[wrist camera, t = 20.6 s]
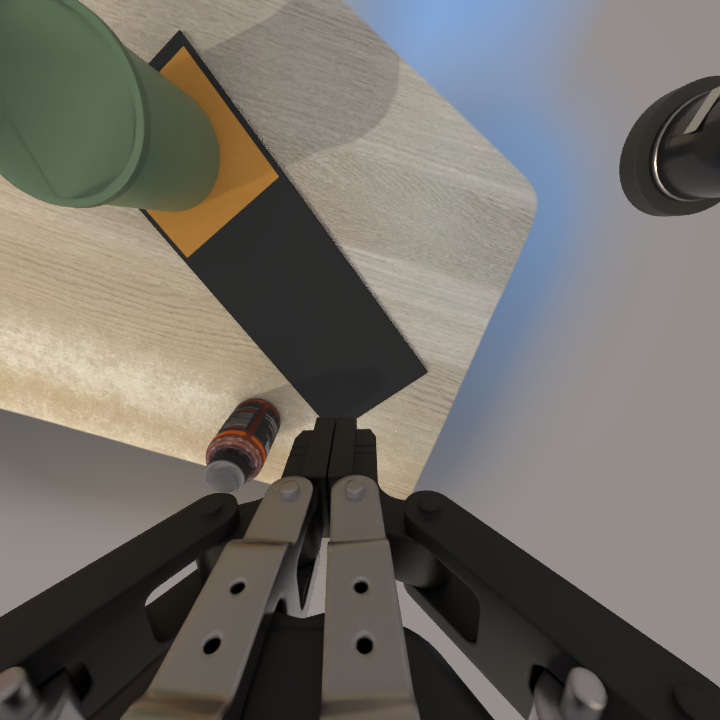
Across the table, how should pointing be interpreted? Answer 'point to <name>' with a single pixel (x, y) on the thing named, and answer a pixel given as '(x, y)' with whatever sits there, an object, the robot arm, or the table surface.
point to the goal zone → (236, 169)
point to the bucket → (95, 116)
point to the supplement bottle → (241, 446)
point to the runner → (298, 293)
